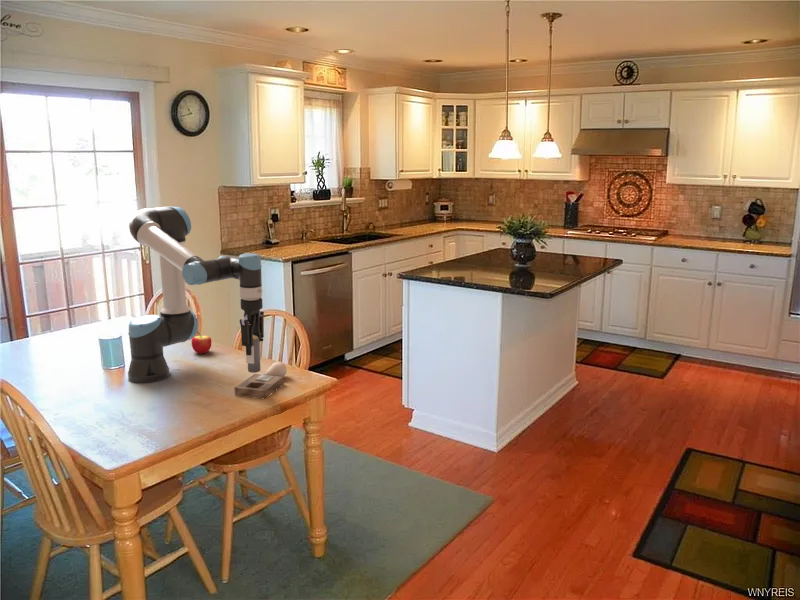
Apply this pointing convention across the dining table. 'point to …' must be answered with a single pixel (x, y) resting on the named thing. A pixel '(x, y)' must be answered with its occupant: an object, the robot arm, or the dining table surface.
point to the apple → (201, 344)
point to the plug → (255, 356)
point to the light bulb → (276, 370)
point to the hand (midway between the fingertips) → (253, 360)
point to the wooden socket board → (259, 386)
